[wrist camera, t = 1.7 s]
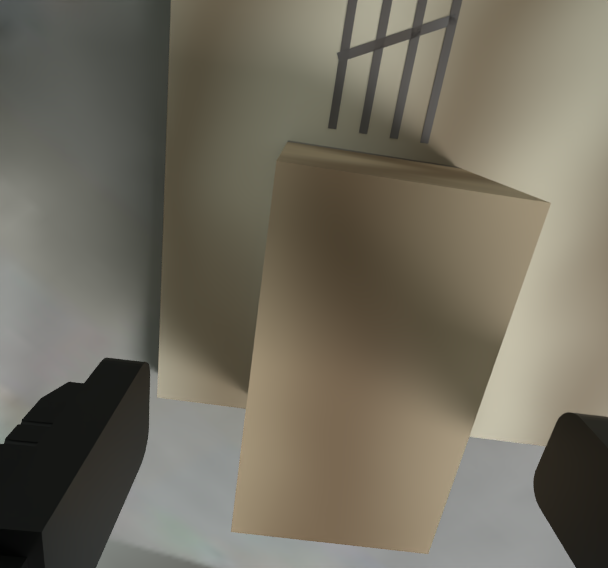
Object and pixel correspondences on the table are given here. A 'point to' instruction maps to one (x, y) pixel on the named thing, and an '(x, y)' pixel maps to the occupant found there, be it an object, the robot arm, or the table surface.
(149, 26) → the table surface
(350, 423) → the block
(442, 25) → the board
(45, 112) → the table surface
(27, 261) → the table surface
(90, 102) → the table surface
